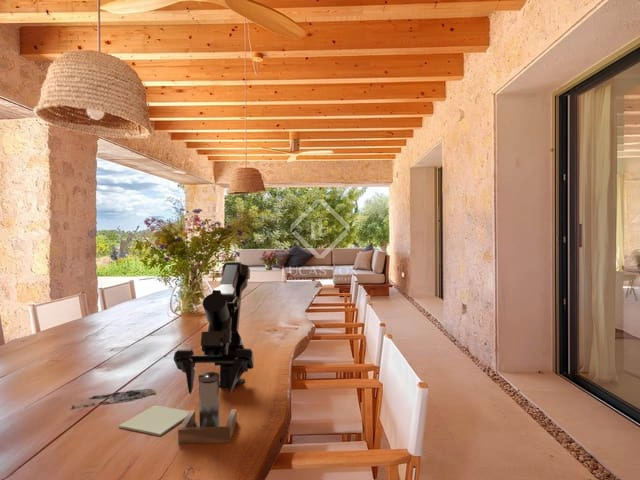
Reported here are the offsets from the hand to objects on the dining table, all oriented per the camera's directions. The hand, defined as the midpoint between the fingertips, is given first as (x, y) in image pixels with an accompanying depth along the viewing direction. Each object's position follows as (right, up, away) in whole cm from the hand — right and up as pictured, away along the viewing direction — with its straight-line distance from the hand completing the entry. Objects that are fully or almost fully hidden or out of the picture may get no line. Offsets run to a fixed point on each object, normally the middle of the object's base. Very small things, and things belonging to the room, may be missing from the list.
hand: (209, 392), depth 100 cm
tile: (-14, -9, +5) cm, 17 cm away
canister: (0, -9, 0) cm, 9 cm away
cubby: (0, -9, 0) cm, 9 cm away
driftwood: (-31, -9, +18) cm, 37 cm away
